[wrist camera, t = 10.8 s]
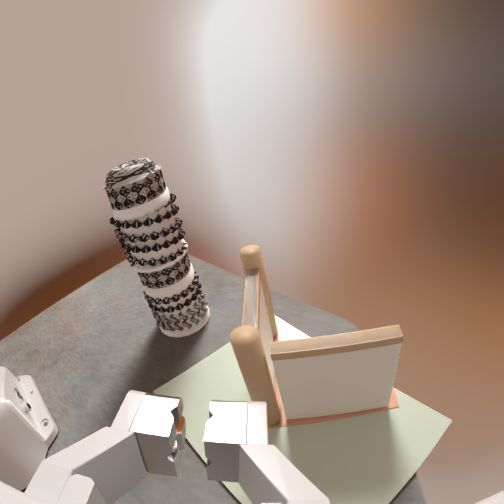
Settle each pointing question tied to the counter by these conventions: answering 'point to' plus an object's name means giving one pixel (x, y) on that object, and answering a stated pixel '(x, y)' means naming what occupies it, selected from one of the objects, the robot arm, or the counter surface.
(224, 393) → the mat
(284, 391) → the swing panel
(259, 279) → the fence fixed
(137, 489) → the counter surface
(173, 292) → the decorative candle
